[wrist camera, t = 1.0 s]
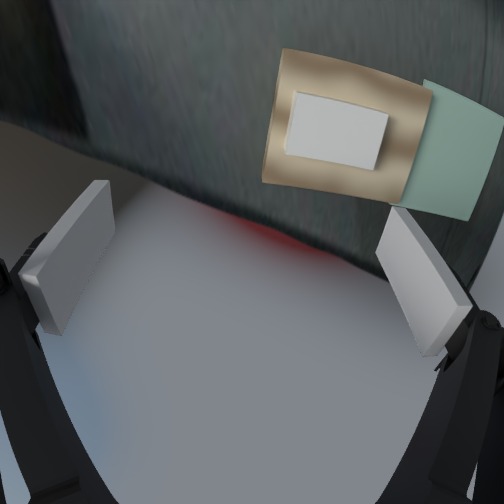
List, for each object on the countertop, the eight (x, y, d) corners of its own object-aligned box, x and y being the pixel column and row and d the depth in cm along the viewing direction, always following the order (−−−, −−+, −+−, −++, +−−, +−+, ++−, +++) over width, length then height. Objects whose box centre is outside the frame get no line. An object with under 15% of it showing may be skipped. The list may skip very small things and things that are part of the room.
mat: (424, 79, 28) (426, 79, 27) (502, 117, 29) (505, 118, 28) (387, 202, 37) (389, 204, 36) (466, 219, 38) (468, 221, 38)
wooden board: (282, 48, 27) (285, 48, 25) (422, 87, 28) (433, 90, 26) (261, 173, 35) (262, 182, 33) (390, 194, 36) (398, 204, 34)
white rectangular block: (283, 148, 30) (285, 154, 29) (294, 90, 27) (297, 92, 25) (366, 163, 31) (373, 170, 30) (380, 110, 28) (388, 114, 26)
